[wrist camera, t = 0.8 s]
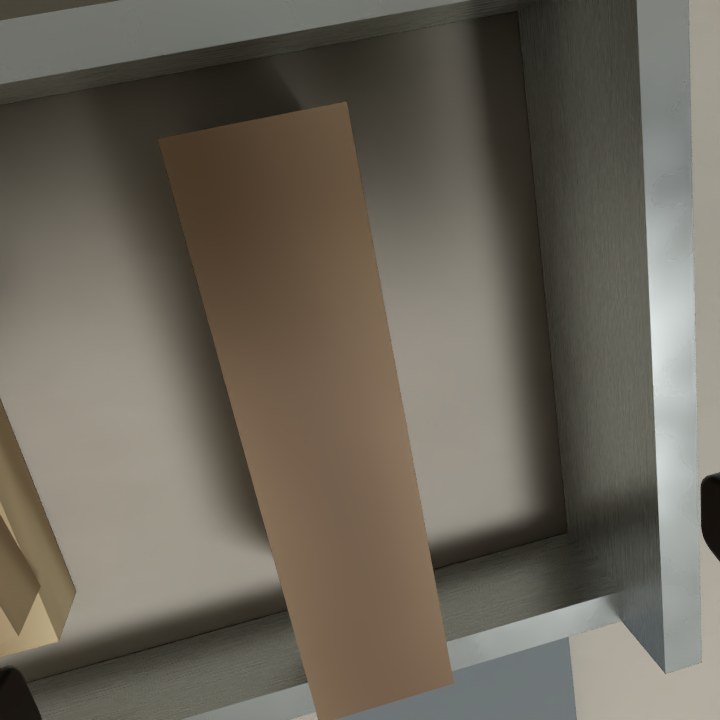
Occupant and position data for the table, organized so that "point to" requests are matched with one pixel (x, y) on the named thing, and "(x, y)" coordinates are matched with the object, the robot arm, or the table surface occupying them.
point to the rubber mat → (495, 691)
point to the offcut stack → (27, 558)
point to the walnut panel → (315, 396)
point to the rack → (564, 315)
